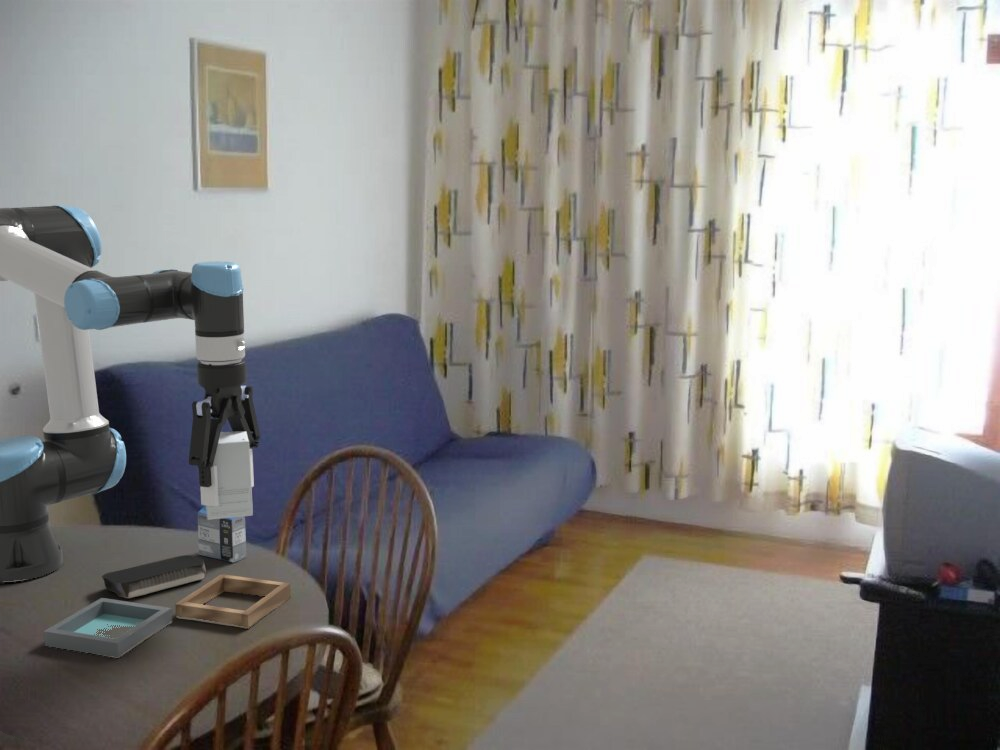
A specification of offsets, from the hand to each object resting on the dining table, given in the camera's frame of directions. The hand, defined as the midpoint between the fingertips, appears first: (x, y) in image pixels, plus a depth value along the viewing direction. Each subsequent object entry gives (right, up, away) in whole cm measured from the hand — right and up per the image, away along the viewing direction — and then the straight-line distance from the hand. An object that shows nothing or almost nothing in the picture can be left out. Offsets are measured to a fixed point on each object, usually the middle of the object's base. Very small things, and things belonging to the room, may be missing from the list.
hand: (228, 495), depth 175 cm
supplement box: (0, -3, +1) cm, 3 cm away
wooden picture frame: (0, -19, +4) cm, 19 cm away
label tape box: (-8, -15, +27) cm, 32 cm away
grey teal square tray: (-17, -21, -6) cm, 28 cm away
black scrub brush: (-16, -18, +14) cm, 27 cm away
